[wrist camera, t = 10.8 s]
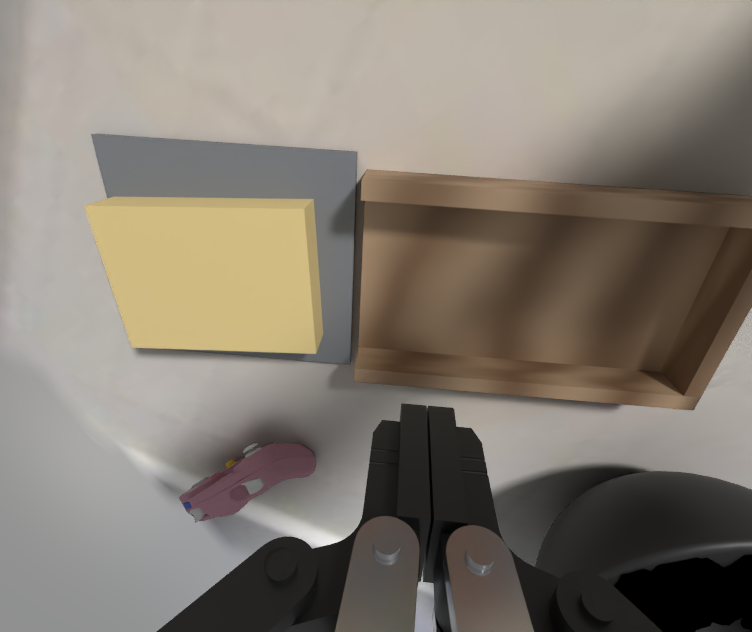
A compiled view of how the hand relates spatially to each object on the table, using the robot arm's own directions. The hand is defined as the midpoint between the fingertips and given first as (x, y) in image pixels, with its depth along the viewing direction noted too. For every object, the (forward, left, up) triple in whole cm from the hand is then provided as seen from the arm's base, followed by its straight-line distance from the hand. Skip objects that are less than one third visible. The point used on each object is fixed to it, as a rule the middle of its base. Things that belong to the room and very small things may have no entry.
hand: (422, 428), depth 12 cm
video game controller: (+11, +19, -15) cm, 27 cm away
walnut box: (-7, +1, -15) cm, 17 cm away
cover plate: (+12, +2, -14) cm, 19 cm away
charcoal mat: (+11, +1, -15) cm, 18 cm away
